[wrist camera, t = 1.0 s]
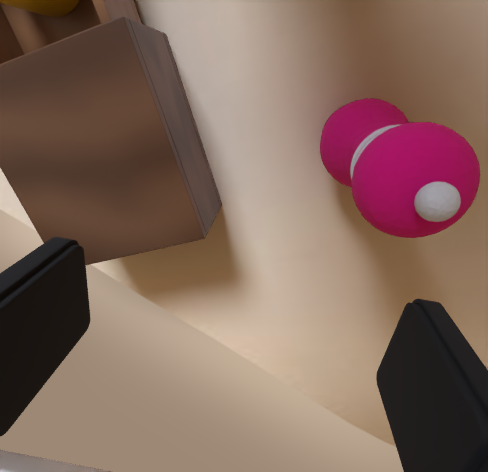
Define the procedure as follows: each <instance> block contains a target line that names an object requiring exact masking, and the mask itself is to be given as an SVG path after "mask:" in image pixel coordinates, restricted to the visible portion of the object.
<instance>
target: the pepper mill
mask: <svg viewBox="0 0 488 472" xmlns="http://www.w3.org/2000/svg"><path fill="white" fill-rule="evenodd" d="M320 153H321V159H322V161H323V164H324V166H325V168H326V169H327V171H328V172H329V173H330V174H331V175H332V177H333V178H335V179H336V180H337V181H339V182H340V183H341V184H344V185H346V186H349V187H352V195H353V198H354V201H355V204H356V206H357V208H358V209H359V211H360V213H361V215H362V216H363V217H364V218H365V219H366V220H367V221H368V222H369V223H370V224H371V225H373V226H374V227H375V228H377V229H379V230H380V231H382V232H384V233H387V234H390V235H394V236H398V237H405V238H416V237H424V236H428V235H432V234H435V233H438V232H440V231H442V230H444V229H446V228H448V227H449V226H451V225H452V224H454V223H455V222H457V221H458V220H459V219H460V218H461V217H462V216H463V215H464V214H465V212H466V211H467V210H468V208H469V207H470V206H471V204H472V202H473V200H474V198H475V197H476V193H477V190H478V186H479V181H480V168H479V162H478V159H477V156H476V154H475V152H474V150H473V148H472V147H471V146H470V145H469V143H468V142H467V141H466V140H465V139H464V138H463V137H462V136H460V135H459V134H458V133H456V132H455V131H453V130H452V129H449V128H447V127H445V126H443V125H440V124H436V123H431V122H414V123H409V121H408V119H407V118H406V116H405V115H404V114H403V112H402V111H400V110H399V109H398V108H397V107H396V106H394V105H392V104H390V103H388V102H386V101H383V100H380V99H373V98H371V99H361V100H356V101H354V102H351V103H349V104H347V105H345V106H343V107H341V108H339V109H338V110H337V111H335V112H334V113H333V114H332V115H331V116H330V117H329V119H328V120H327V122H326V123H325V126H324V128H323V131H322V136H321V142H320Z"/></svg>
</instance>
